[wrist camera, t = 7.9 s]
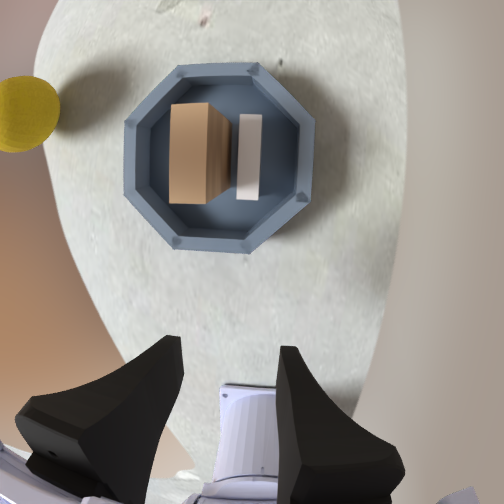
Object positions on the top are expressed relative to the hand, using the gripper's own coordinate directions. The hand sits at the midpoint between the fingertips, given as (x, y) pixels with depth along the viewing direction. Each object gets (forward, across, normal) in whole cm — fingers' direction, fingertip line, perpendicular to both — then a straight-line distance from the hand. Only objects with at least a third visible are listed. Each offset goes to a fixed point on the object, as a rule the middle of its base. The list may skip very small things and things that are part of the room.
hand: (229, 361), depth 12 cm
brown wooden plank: (+9, +2, -8) cm, 12 cm away
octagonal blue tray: (+9, +2, -8) cm, 13 cm away
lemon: (+10, +16, -12) cm, 22 cm away
